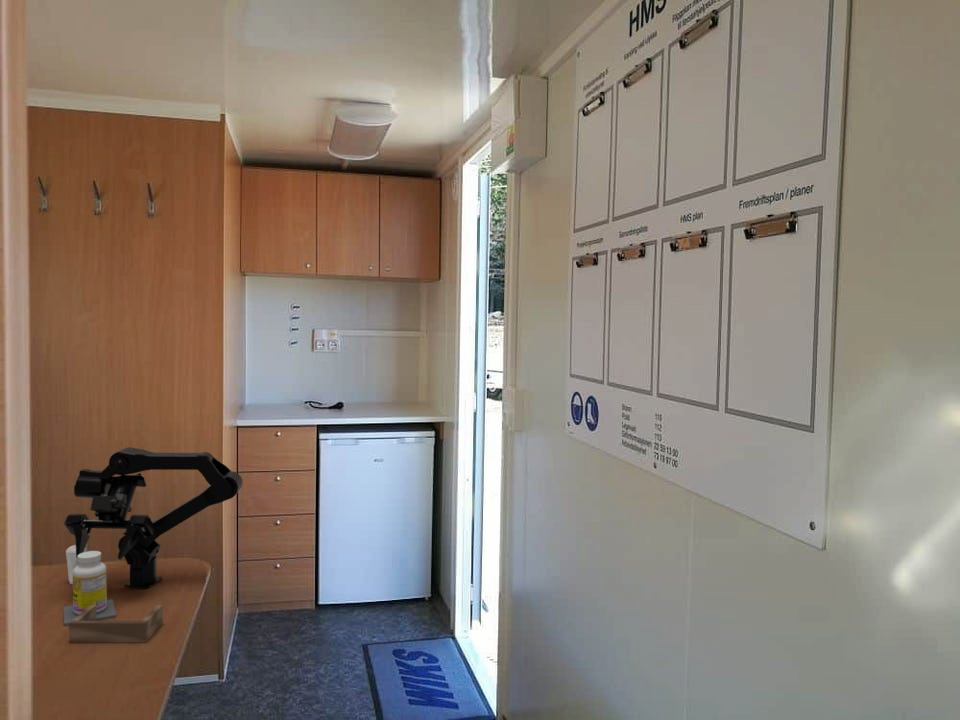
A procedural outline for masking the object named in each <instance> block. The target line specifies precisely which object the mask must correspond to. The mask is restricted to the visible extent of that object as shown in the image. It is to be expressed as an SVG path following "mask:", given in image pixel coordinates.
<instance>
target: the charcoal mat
mask: <svg viewBox="0 0 960 720" xmlns="http://www.w3.org/2000/svg"><path fill="white" fill-rule="evenodd" d="M114 603H115V602H114V599H113V598H111V599H107V606H106V608H105V609H104V610H103V611H101V612H99V613H96V621H103V620H107V619H113V618H116V617H117V612H116V608H115V604H114ZM77 616H78V615H77V614H75V613H74V611H73V605H68V606H67V605H66V606H63V626H64V627H65V626H66V627H67V626H69V623H70V622H71V621H72V620H74V619H75V618H76V617H77Z"/></svg>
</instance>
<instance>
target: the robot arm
mask: <svg viewBox="0 0 960 720" xmlns="http://www.w3.org/2000/svg"><path fill="white" fill-rule="evenodd" d="M150 470H151V471H152V470H153V471H155V470H157V471H158V470H159V471H163V470H165V471H166V470H168V471H169V470H171V471H174V470H175V471H180V470H181V471H185V470H187V471H189V470H190V471H193V470H194V471H198V472H199V473H200V474H201V475H202V477H203V478H204V479H205V480H206V482H207V484H209V486H207V488H205V490H203V491H202V492H200V493H198V494H197V495H195V496H193V497H192V498H190V499H188V500H187V501H185V502H184V503H181V504H180V505H178V506H177V507H175V508H173V509H172V510H170V511H169V512H167V513H165V514H163V515H162V516H160V517H159V518H157V519H154V520H152V519H151V518H150V516H149V515H148V514H132V515H130V518H129V520H128V519H127V517H128V514H129V513H131V512H132V507H131V504H132V502H133V499H134V495H135V493H136V489H137V487H140V488H142V487H143V488H145V487H147V483H146V480H145V479H146V478H145V477H144V476H142V473H141V472H145V471H150ZM136 473H138V474H136ZM116 475H117V476H116ZM243 482H244V481H243V478H242V476H241V475H240V474H239V473H238V472H236V471H232V470H231V469H230V468H229V467H228V466H227V465H225V464H224V463H223V462H221V461H219V460H218V459H217V458H215V456H214V455H212V453H210V452H207V451H203V452H154V451H153V452H152V451H148V450H145V449H142V448H136V447H131V446H130V447H124V448H122V449H120V450H118V451H116V452H114V453H113V454H112V455H111V456H110V458H109V461H108V465H107V466H106V467H105V468H104V469H103V470H94V469H93V470H92V469H88V468H83V469H80V470H79V472H78V476H77V479H76V482H75V484H74V486H73V487H74V488H73V495H74V497H76V498H80V499H81V498H83V499H92V500H91V503H90V504H91V505H90V511H92V512H93V511H94V516H95V518H98V519H90V518H89V517H88V515H87V514H86V513H70V514H68V515H67V516H66V517H65V519H64V522H63V525H64V526H65V527H66V529H67V530H68V532H69V533H70V535H74V537H75V545H76V558H77V556H78V555H79V554H80V553H83V551H84V549H85V547H86V544H87V543H88V542H89V539H90V535H89V534H90V533H91V531H92V529H105V530H106V529H116V530H118V529H119V530H120V529H121V530H125V531H124V532H123V536H122V537H121V538H120V539H119V540H118V545H117V546H118V555H117V559H118V560H122V559H123V557H124V559H125V562H126V564H127V565H129V581H127V582H125V583H124V584H123V586H124V588H126V587H127V588H139V589H140V588H141V589H149V588H152V587H153V586H155V584H158V583H159V582H160V581H161V580H163V577H162V576H157V555H158V553H159V551H160V549H161V544H159V542H157V541H156V539H158V538H159V537H160V536H161V535H163V534H165V533H166V532H169V531H170V530H172V529H173V528H175V527H177V526H178V525H180V524H181V523H183V522H185V521H187V520H188V519H191V517H193V516H195V515H196V514H198V513H200V512H201V511H203V510H204V509H206V508H209V507H210V506H213V505H217V504H220V503H224V502H226V501H229V500H231V499H232V498H234V497H235V496H236V495H237V494H238V492H239V491H240V490H241V489H242V487H243V484H244V483H243ZM126 519H127V520H126ZM87 545H88V544H87ZM86 548H87V547H86Z"/></svg>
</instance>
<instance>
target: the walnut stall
mask: <svg viewBox="0 0 960 720" xmlns="http://www.w3.org/2000/svg"><path fill="white" fill-rule="evenodd" d="M163 608H164V605H161V604H160V605H159V604H158V605H155V606H154V608H153V609H152V610H151V611H150V612H149V613H148V614H147V615H146V616H145V617H144V618H142V620H96V605H90V606H89V607H88V608H87V609H85V610H84V611H83V612H82V613H81V614H80V615H78V616H77V617H76V618H75V619H74V620H72V621H71V622H70V623H69V625H68V634H69V635H68V640H69V641H68V642H69V643H146V642H147V641H148V640H149V639H150V638H151V637H152V636H153V635H154V634H155V633H156V631H157V630H158V629H159V628H160V627H161V626H162V625H163V622H164V621H163V619H164V618H163V616H164V614H163V610H164V609H163Z"/></svg>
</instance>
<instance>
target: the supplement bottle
mask: <svg viewBox="0 0 960 720" xmlns="http://www.w3.org/2000/svg"><path fill="white" fill-rule="evenodd" d="M101 560H102V552H101V551H98V550H87V552H83V553H80V554H79V555H78V556H77V561H78V563H79V565H78V566H76V567H75V568H74V570H73V584H72V606H73V611H74V613H75V614H77V615H80V614H81V613H82V612H83V611H84V610H85V609H87V608H88V607H89V606H90V605H96V613H99V612H101V611H103V610H104V609H105V608H106V606H107V600H108V598H107V565H106V564H105V563H103V562H101Z"/></svg>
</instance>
